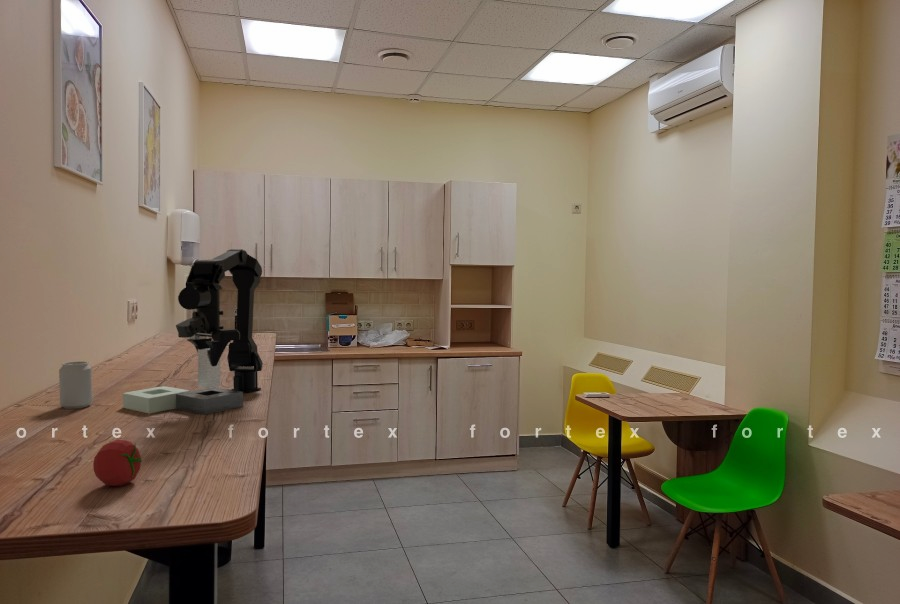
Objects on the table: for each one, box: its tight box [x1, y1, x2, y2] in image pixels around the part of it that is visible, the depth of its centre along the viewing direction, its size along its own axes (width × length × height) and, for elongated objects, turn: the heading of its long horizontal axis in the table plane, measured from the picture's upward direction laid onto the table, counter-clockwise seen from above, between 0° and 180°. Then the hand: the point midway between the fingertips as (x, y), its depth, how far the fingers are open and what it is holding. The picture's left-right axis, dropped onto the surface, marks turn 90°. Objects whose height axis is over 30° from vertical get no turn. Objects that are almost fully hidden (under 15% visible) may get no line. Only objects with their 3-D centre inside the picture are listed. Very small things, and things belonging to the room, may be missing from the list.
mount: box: [175, 386, 244, 416], centre depth 167 cm, size 12×12×4 cm
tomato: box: [92, 439, 143, 487], centre depth 108 cm, size 8×8×8 cm
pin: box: [197, 348, 222, 389], centre depth 166 cm, size 4×4×10 cm
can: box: [58, 360, 93, 410], centre depth 167 cm, size 8×8×12 cm
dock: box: [122, 385, 191, 414], centre depth 168 cm, size 12×12×4 cm
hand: (209, 365), depth 166 cm, fingers closed on pin, 4 cm apart
